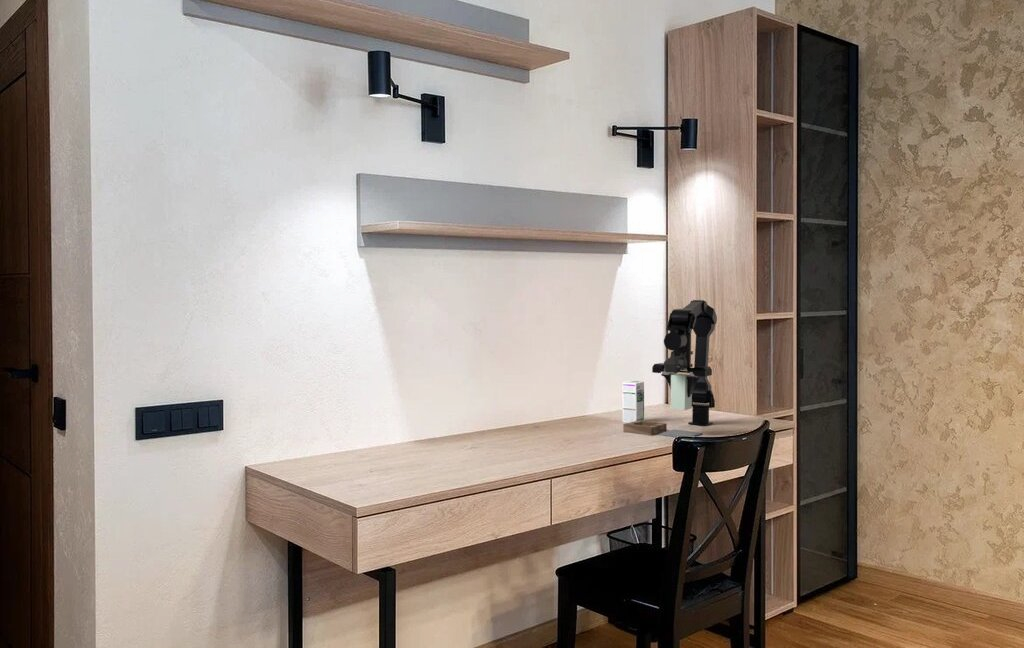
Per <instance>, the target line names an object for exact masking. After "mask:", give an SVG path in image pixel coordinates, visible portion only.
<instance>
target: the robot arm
mask: <svg viewBox="0 0 1024 648" xmlns="http://www.w3.org/2000/svg"><path fill="white" fill-rule="evenodd" d="M717 321H718V316H717V313H716V311H715V308H713V307H712V306H710V305H709V304H708V302H707V301H706V300H703V299H693V300H690V303H688V304H687V305H686V306H685V307H683V308H675V309H672V311H671V312H670V314H669V318H668V322H667V325H666V331H669V332H668V333H667V334H666V335H665V336H664V339H663V345H664V347H665V348H666V349H667V350H669V351H670V356H669V357H668V358H667V359H666V360H665V361H663V362H659V363H654V364H653V365H652V368H651V369H652V370H651V372H652V373H654V374H660V375H661V377H664V378H665V379H666V381H667V383H668V387H669V389H670V390H671V375H674V374H679V373H681V374H683V373H684V374H689V375H690V376H687V380H688V389H687V395H688V397H690V396H691V394H692V410H691V412H692V414H691V415H692V416H691V417H692V418H691V421H689V422H687V423H688V425H695V426H703V427H704V426H709V425H712V424H713V423H714V422H713V421H710V409H712V408H716V400H715V397H714V393H713V390H712V384H711V383H710V381H709V379H708V377H710V376H713V370H712V368H711V366H708V365H709V351H710V350H709V349H710V337H711V335H712V334H713V332H714V331H715V330H716V329H715V328H716V325H717ZM692 332H693V333H694V334H695V349H694V353H693V350H692ZM692 355H694V363H692ZM693 364H694V365H693Z"/></svg>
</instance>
